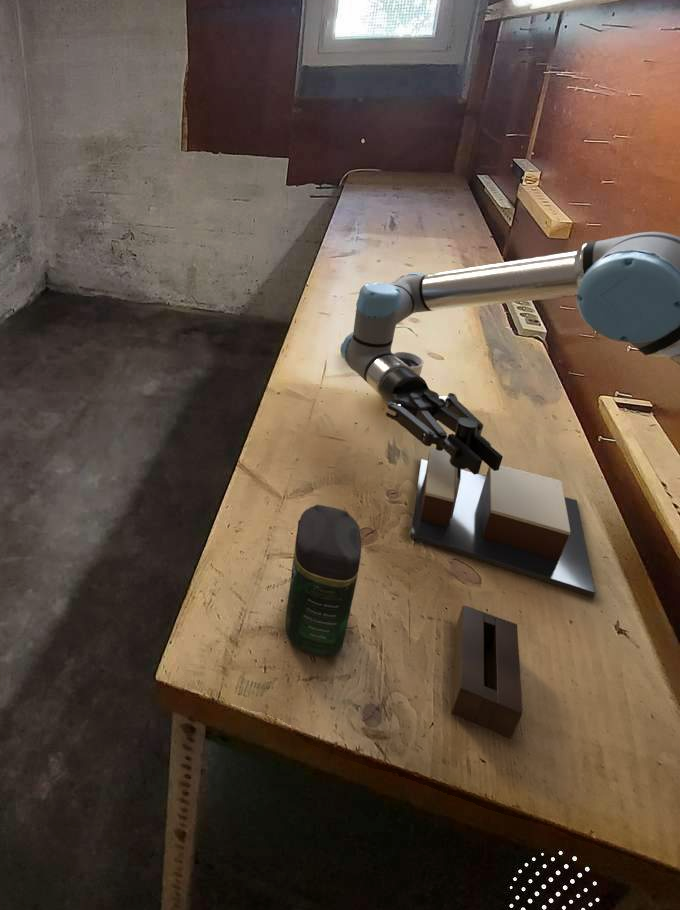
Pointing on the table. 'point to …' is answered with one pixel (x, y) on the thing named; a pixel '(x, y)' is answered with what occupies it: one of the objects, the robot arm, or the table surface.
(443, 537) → the cake board
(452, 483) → the cake slice
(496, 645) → the knife block
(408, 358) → the white cup
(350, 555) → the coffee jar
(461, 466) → the knife
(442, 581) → the table surface
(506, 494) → the cake
